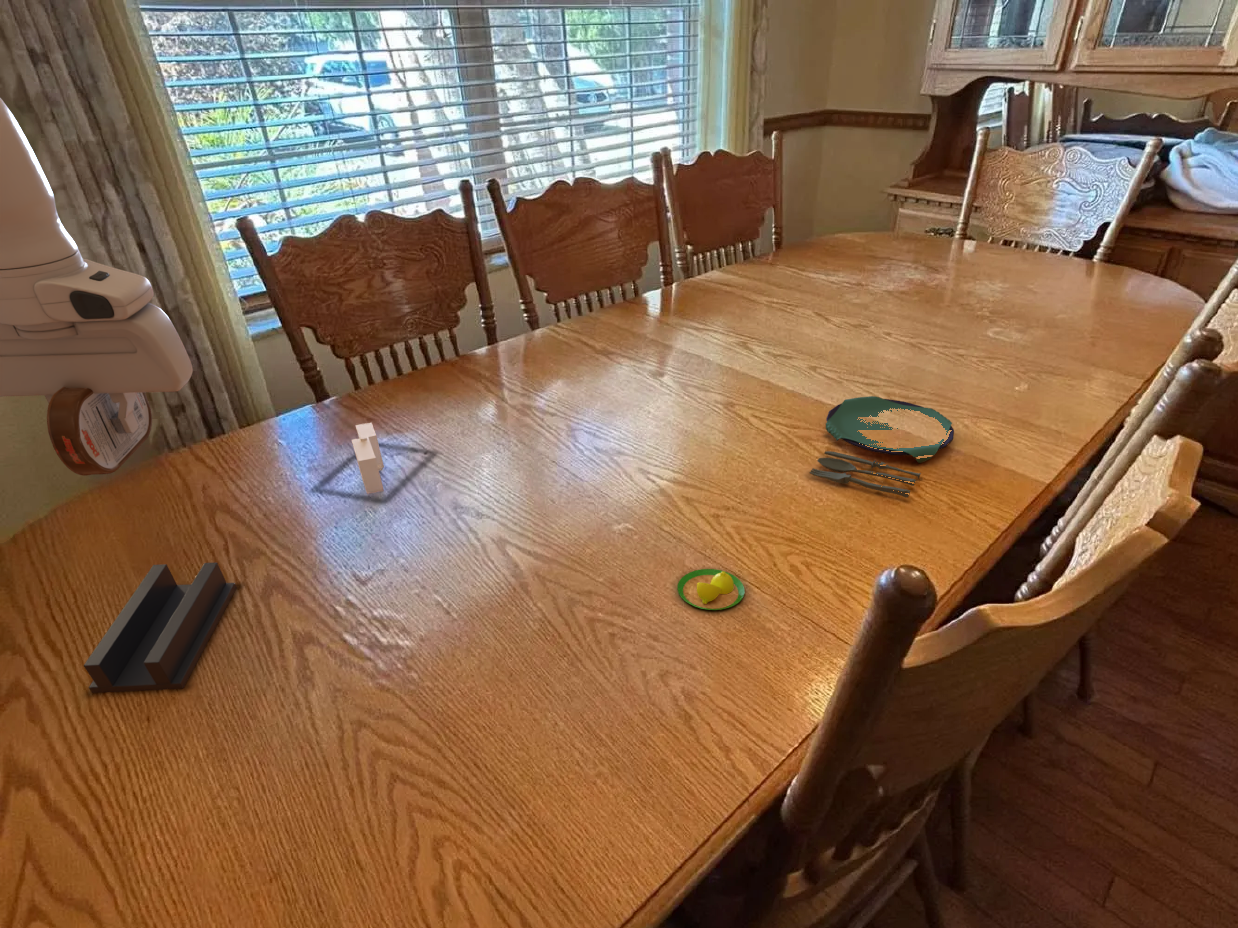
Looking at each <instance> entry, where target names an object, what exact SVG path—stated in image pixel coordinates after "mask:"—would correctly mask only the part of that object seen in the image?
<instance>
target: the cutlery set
mask: <svg viewBox="0 0 1238 928" xmlns="http://www.w3.org/2000/svg"><path fill="white" fill-rule="evenodd" d="M890 408H891V409H892V408H893V409H894V408H895V409H898V408H899V409H900V408H901V409H904V410H905V409H908V410H910V409H911V410H914V411H920V412H921V413H923V414H925V415H928V416H929V417H933V418H934V417H935V419H937V420H938V421H939V422H940V423H942V424H941V425H942V426H943V428H945V430H947V431H946V432H947V433H948V431H949V430H952V431H951V432H950V434H949V437H948V439H947V440H946V441H945V442H943V441H944V439H942V440H941V441H940V442H938V443H939V444H935V445H929V446H921V447H914V448H899V449H898V448H897V449H893V448H886V447H880V446H881V445H880V446H879V445H878V446H879V447H878V446H877V444H876V443H879V442H878V441H876V440H875V441H874V440H872V441H871V439H866V438H867V437H865V436H862V435H863V434H862V433H860V432H859V431H858V430H892V429H893V428H892V427H888V426H889V425H888V423H884V424H885V425H886V424H887V425H888V426H887V425H886V426H884V424H883V423H882V424H883V425H882V424H881V423H880V424H881V425H880V424H879V422H878V421H877V422H878V424H876V423H877V422H876V421H875V422H876V423H875V422H874V421H873V422H874V423H875V424H874V423H873V422H872V423H873V424H871V423H870V422H868V423H867V422H866V423H867V424H868V425H867V424H866V423H864V422H865V421H866V420H865V421H864V420H863V419H860V418H859V419H860V420H859V419H858V417H869V416H870V415H871V416H872V417H877V416H878V414H879V413H880V412H881V411H882V412H883V410H886V411H887V410H888V411H889V409H890ZM911 410H910V411H911ZM890 411H891V412H892V410H890ZM897 411H898V410H897ZM878 412H879V413H878ZM882 412H881V413H882ZM883 413H884V412H883ZM871 416H870V417H871ZM878 417H879V416H878ZM857 419H858V420H857ZM861 420H863V421H864V422H863V421H862V422H860V421H861ZM825 421H826V423H825V430H826V432H827V433H828V434H830V436H832V437H833V438H834V439H835V441H836V442H837V441H839V439H840V440H842V441H843V442H846V443H848V444H849V445H851V446H853V447H856V448H859V449H863V450H866V451H869V452H871V453H876V454H877V453H878V454H883V455H888V456H910V455H912V457H913V458H914V457H918V456H924V455H934V456H935V455H936V454H937V453H938V451H940V450H943V449H945V448H946V447H947V446H948V445H949V444H951V442H953V440H954V436H955V435H954V434H955V429H954V428H953V426H952V425H953V422H952V421H951V420H950V419H948V418H947V417H946V416H944V415H943V414H941V413H940V411H937V410H936V409H933V408H931V407H925V406H921V405H919V404H915V403H912V402H907V401H904V400H896V399H889V398H882V397H879V396H874V395H869V396H859V397H853V398H845V399H844V400H843V401H842V403H839V404H837V405H835V406H834V407H832V409H830V410H829V411H828V414H827V416H826V419H825ZM870 424H871V425H872V426H871V425H870ZM867 427H868V428H867ZM880 427H881V428H880ZM882 427H883V428H882ZM884 427H885V428H884ZM889 428H890V429H889ZM891 428H892V429H891ZM897 429H898V428H897ZM857 431H858V432H857ZM947 433H946V435H947ZM942 442H943V443H944V444H942ZM859 443H860V444H859ZM874 443H875V444H876V445H875V444H874ZM880 443H881V442H880ZM882 443H883V442H882ZM948 443H949V444H948ZM862 444H863V445H862ZM869 444H870V445H869ZM871 444H872V445H871ZM873 444H874V445H873ZM941 444H942V445H941ZM947 444H948V445H947ZM865 445H867V446H870V447H873V448H870V447H867V446H865ZM944 447H945V448H944ZM874 448H877V449H874ZM942 448H943V449H942ZM879 449H883V450H879ZM939 449H940V450H939ZM886 450H889V451H886ZM891 451H903V452H891ZM823 454H824V455H827V456H829V457H819V458H817V462H818V463H819V464H820V465H821V466H823V468H825V469H827V470H829V471H827V470H820V469H817V468H814V467H813V468H812V469H811V470H810V471H809V474H810V475H812V476H814V477H818V478H822V479H826V480H828V481H831V482H834V483H838V484H844V485H847V484H849V483H853V484H857V485H859V486H861V487H864V488H867V489H871V490H875V491H879V492H883V493H888V494H894V495H896V496H897V495H898V496H901V497H903V498H907V499H908V498H909V497H910V495H911V490H909V489H906V488H901V487H895V486H888V485H883V486H882V485H881V484H877V483H872V482H868V481H865V480H863V479H858V478H855V477H852V474H847V473H850V472H852V473H857V474H863V475H864V474H865V475H869V476H873V477H877V478H878V477H879V478H883V479H887V480H891V481H895V482H899V483H902V484H905V485H908V486H911V487H915V485H916V482H915V481H917V479H920V477H921V475H922V472H914V471H910V470H905V469H902V468H899V467H895V466H891V465H889V464H887V465H886V466H880V465H883V464H886V463H885V462H884V461H880V462H881V463H879V462H878V461H876V459H874V460H873V461H871V460H868V459H864V458H861V457H858V456H854V455H850V454H846V453H842V452H837V451H833V450H832V451H831V450H825V451H824V453H823ZM830 456H831V457H830ZM932 458H933V457H927V458H920V459H915V461H916V462H917V463H918V464H922V463H924V462H926V461H927V462H928V461H929V460H931V459H932ZM849 461H851V462H855V463H859V464H863V465H868V466H870V467H871V468H870V469H871V470H872V469H874V468H878V469H879V470H887V469H888V470H891V471H895V472H900V473H904V474H907V475H911V476H914V477H917V479H915V478H909V477H904V476H899V475H896V474H890V473H885V472H877V471H876V472H877V473H876V474H873V472H874V471H871V470H866V469H865V470H864V469H857V467H856V466H855V465H853V464H852V463H851V462H849ZM875 462H876V463H875ZM878 463H879V464H878ZM871 472H872V473H871ZM877 474H878V475H877ZM881 475H883V476H881ZM885 476H886V477H885ZM888 477H891V478H888ZM892 478H895V479H892ZM896 479H899V480H896ZM900 480H902V481H900ZM904 481H910V482H914V483H915V484H912V483H908V482H904ZM881 486H882V487H881ZM893 490H894V491H893ZM898 491H899V492H898ZM901 492H902V493H901ZM905 493H909V495H908V494H905Z"/></svg>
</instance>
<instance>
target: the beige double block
mask: <svg viewBox="0 0 1238 928" xmlns="http://www.w3.org/2000/svg"><path fill="white" fill-rule="evenodd" d="M354 426H355V429H356V430H355V431H356V433H357V437H358V438H353V439H351V443H352V448H353V451H354V455H355V458H356V462H357V465H358V469H359V473H360V476H361V479H362V483H363V486H364V489H365V492H366V494H367V495H370V494H374V493H380V492H384V491H385V490H384V486H383V482H382V478H381V474H380V471H383V469H384V468H385V465H384V461H383V456H382V453H381V448H380V445H379V441H378V437H377V434H376V431H375V428H374V426H373V422H366V423H359V424H355V425H354Z"/></svg>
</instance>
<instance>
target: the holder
mask: <svg viewBox="0 0 1238 928" xmlns="http://www.w3.org/2000/svg"><path fill="white" fill-rule="evenodd" d="M237 589H238V587H237V585H236V583H235V582H227V580H226V578H225V576H224V574H223V572H222V570H221V567H220V564H219V563H218V562H204V563H203V565H202V566H201V568H200V570H199V571H198V573H197V575H195V577H194V579H193V581H192V582H191V583H190V584H178V583H177V582H176V580H175V577H174V576H173V574H172V572H171V570H170V569H169V566H168V564H166V563H164V564H153V565H152V567H151V568H150V569H149V571H148V572H147V573H146V574H145V576H144V578H143V579H142V581H141V582H140V583H139V585H138V586H137V588H136V589H135V591H134V592H133V594H132V595H131V596H130V598H129V599H128V600H127V602H126V604H125V605H124V606H123V608H122V609H121V610H120V612H119V613H118V615H117V616H116V618H115V619H114V621H113V622H112V624H111V625H110V627H109V628H108V630H107V631H106V632H105V634H104V635H103V637H102V638H101V639H100V641H99V642H98V644H97V645H96V647H95V648H94V649H93V651H92V653H90V655H89V657H88V658H87V660H86V661H85V663H84V664H83V668H84V669H85V670H86V672H87V673H88V675H89V677H90V678H91V679H92V681H91V683H90V685H89V686H88V689H89V690H90V692H91V693H92V694H100V693H119V692H120V693H121V692H123V693H124V692H141V691H143V692H144V691H162V690H164V691H165V690H166V691H167V690H183V689H185V687H186V684H187V682H188V681H189V679H190V677H191V675H192V673H193V671H194V670H195V667H196V666H197V664H198V662H199V660H200V658H201V657H202V655H203V653H204V650H205V649H206V647H207V645H208V643H209V641H210V640H211V637H212V636H213V634H214V632H215V630H216V628H217V626H218V624H219V623H220V620H221V619H222V617H223V615H224V613H225V611H226V610H227V608H228V606H229V604H230V602H231V601H232V598H233V596H234V594H235V592H236V590H237Z"/></svg>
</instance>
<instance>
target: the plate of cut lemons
mask: <svg viewBox="0 0 1238 928" xmlns="http://www.w3.org/2000/svg"><path fill="white" fill-rule="evenodd" d="M701 576H713V577H712V578H711V581H710V583H707V582H702V581H700V582H697V583H696V592H697V596H698V598H699V599H700V600H701V601H702V604H703V605H707V604H708V603H709V602H712V601H714V600H716V599H717V598H718V596H719V595H727V594H731V593H732V592H733V591H734V589H735V587H736V589H737V598H736V599H735V601H733V602H732V603H730V604H729V605H727V606H723V607H719V608H706V607H703V606H698V605H697V604H694V603H692V602H691V601H689V600H688V599H687V597H686V596H685V593H684V587H685V585H686V584H687V583H688V582H689V581H691V580H692V579H695V578H696V577H701ZM745 591H746V590H745V587H744V584H743V582H742V581H741V580H740V579H739V578H738V577H737V576H735V575H733V574H732V573H731V572H727V571H725V570H721V569H717V568H700V569H696V570H692V571H690V572H688V573H686V574H685V575H683V576H682V577H681V578H680V579H679V581H678V583H677V593H678V595H679V596H680V598H681V599H682V600H683V601H684V602H686V603H687V604H689V605H691V606H693V607H695V608H697V609H698V608H699V609H702V610H711V611H718V610H725V609H729V608H732V607H734V606H736V605H737V604H739V603H740V602H741V601H742V600H743V598H744V596H745V593H746V592H745Z"/></svg>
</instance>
